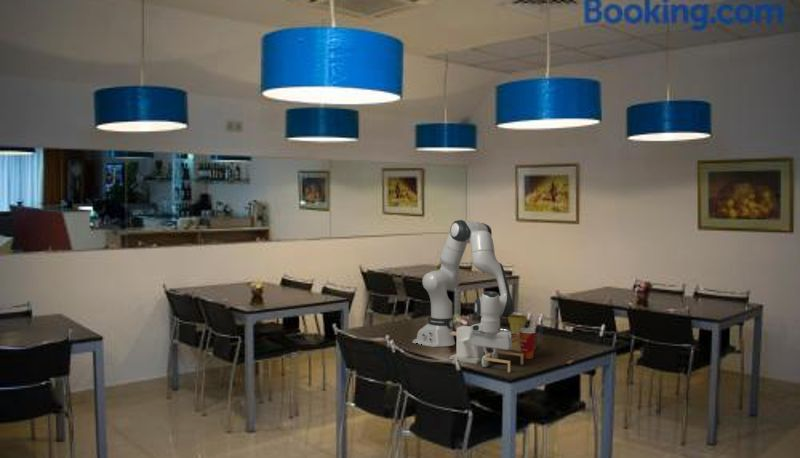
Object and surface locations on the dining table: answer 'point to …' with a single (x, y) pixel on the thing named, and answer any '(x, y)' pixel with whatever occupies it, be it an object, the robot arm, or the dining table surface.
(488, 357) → the glasses
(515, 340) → the pastry
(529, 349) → the paper cup
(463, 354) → the white upright box
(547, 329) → the dining table surface
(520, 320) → the plant pot
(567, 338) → the dining table surface
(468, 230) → the robot arm
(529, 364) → the dining table surface
